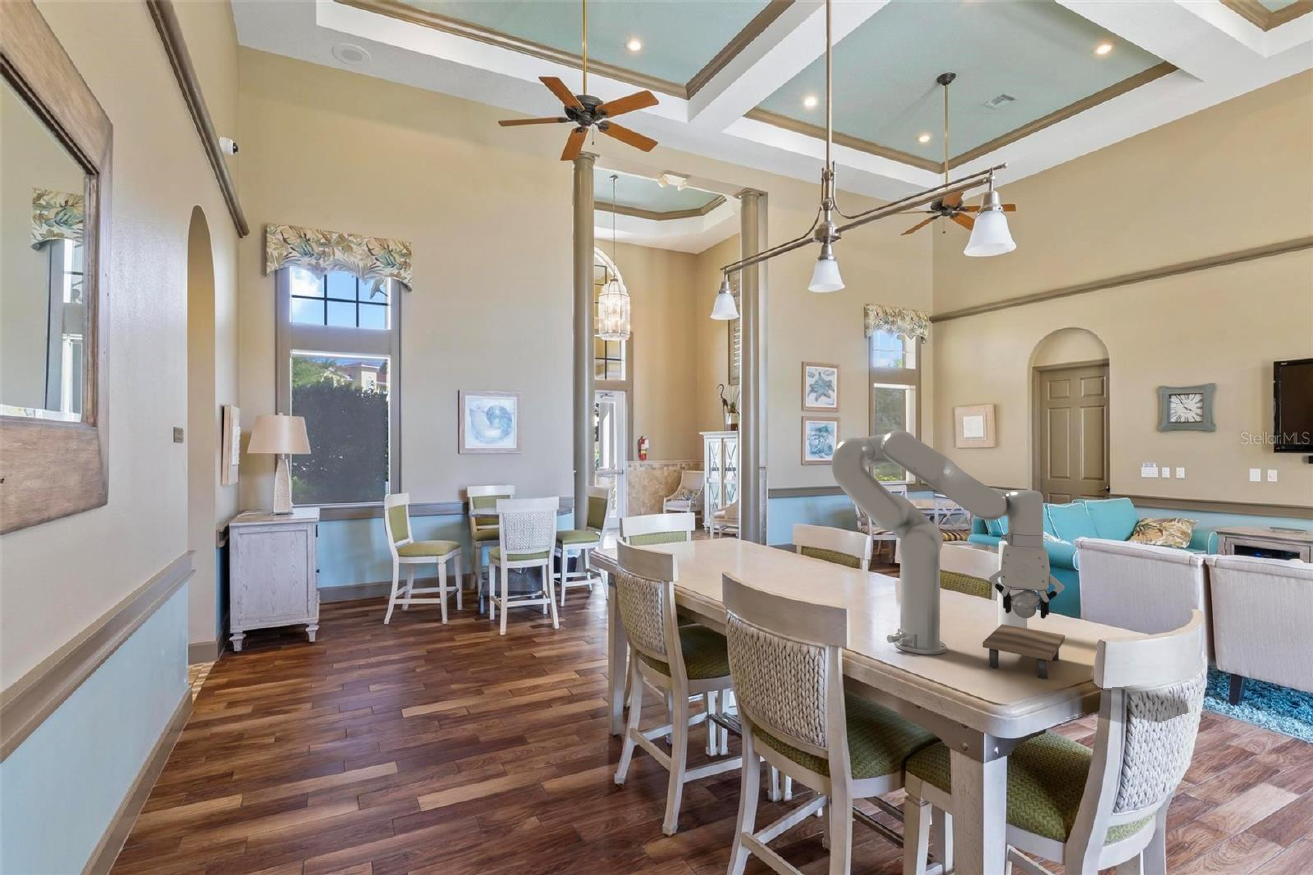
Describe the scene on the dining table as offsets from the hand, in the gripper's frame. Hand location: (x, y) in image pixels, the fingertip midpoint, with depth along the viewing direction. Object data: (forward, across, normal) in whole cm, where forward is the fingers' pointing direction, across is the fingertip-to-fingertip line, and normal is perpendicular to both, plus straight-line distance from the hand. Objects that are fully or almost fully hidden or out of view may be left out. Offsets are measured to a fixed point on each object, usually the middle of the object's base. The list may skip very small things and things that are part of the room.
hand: (1025, 614), depth 154 cm
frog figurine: (+1, 0, 0) cm, 1 cm away
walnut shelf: (+12, 0, 0) cm, 12 cm away
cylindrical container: (+12, -8, +28) cm, 32 cm away
